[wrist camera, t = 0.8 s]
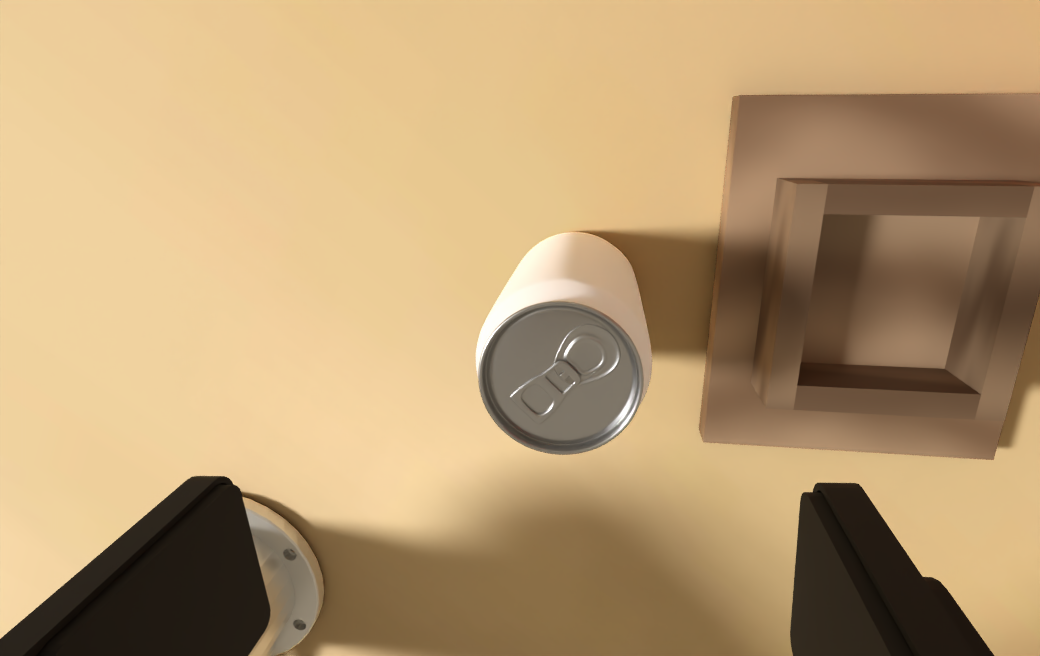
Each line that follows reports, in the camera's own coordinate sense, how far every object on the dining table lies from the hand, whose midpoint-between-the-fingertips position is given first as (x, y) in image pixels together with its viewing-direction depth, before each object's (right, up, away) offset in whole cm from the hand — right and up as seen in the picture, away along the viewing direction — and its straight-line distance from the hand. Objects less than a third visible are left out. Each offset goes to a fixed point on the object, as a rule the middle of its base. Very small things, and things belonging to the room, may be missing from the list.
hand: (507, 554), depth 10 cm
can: (+3, +6, +22) cm, 23 cm away
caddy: (+17, +6, +20) cm, 27 cm away
